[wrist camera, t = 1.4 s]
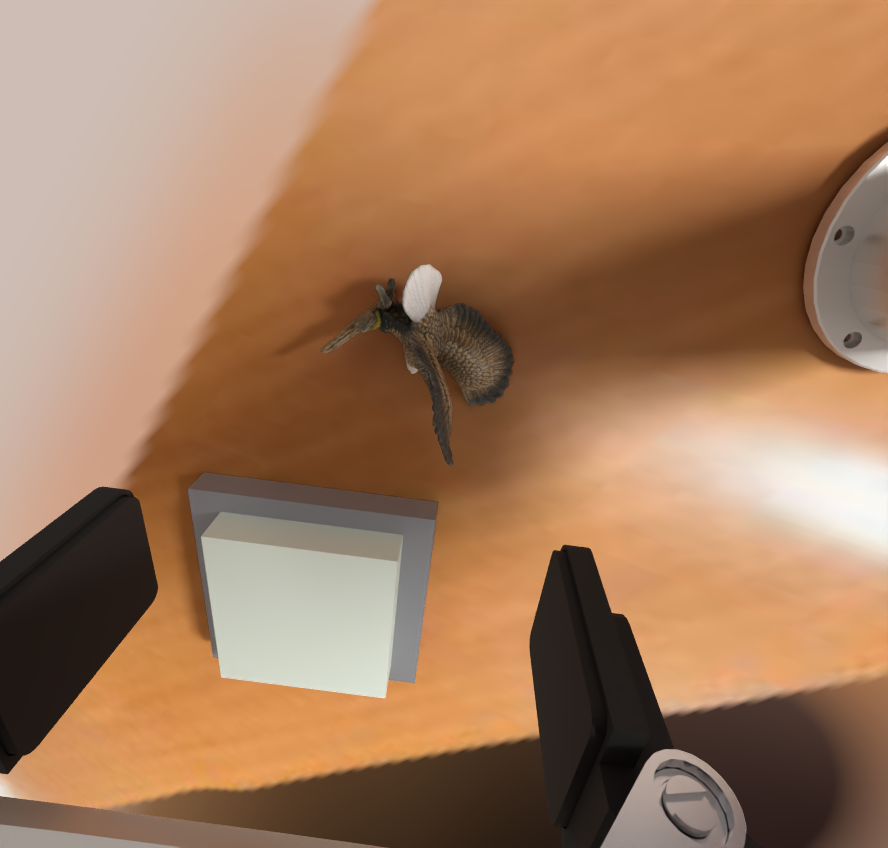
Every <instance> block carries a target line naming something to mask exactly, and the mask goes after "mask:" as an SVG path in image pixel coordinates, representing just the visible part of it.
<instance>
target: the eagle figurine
mask: <svg viewBox="0 0 888 848" xmlns="http://www.w3.org/2000/svg"><path fill="white" fill-rule="evenodd" d="M441 282H442V276H441V274H440V272H439V271H438V270H436V269H435V268H433V267H432V265H430V264H426V265H420V266H419V267H418V268H416V269H414V270H413V271H412V272H411V274H410V276H409V279H408V280H407V283H406V286H405V288H404V290H403V299H402V303H400V302H398V298H397V296H396V294H395V290H394V287H395V279H394V278H390V279H389V281H388V284H387V285H388V287H387V289H386V290H384V289H383V287H382V286H381V285H380V284H376V285H375V289H376V291H377V293H378V295H379V300H378V302H377V303H375V304H374V305H373V306H371V307H370V308H369V309H368V310H367V311H365V312H364V313H362V314H361V315H359V316H358V317H357V318H355V319H354V320H353V321H352V322H351V323H350V324H349V325H348V326H346V327H345V328H344V329H343V330H342V331H341V332H340V333H339V334H338V335H337V336H336V337H335V338H333V339H332V340H331V341H329V342H328V343H327V344H326V345H325V346H324V347H323V348H322V349H321V352H323V353H329V352H331V351H333V350H336V349H338V348H339V347H340V346H342V345H343V344H344V343H345V342H346V341H348V340H350V339H352V338H353V336H354V335H355V334H357V333H360V332H361V333H364V332H366V331H370V330H374V329H380V330H381V331H383V332H384V333H391V334H393V335H394V336H395V337H396V338H398V340H399V341H400V342H401V343H402V345H403V355H404V358H405V360H406V363H407V366H406V368H407V370H409V371H410V373H411V374H414V373H416V372H418V371H419V372H420V374H421V376H422V377H423V379H424V381H425V383H426V385H427V387H428V389H429V391H430V394H431V398H432V401H433V405H432V409H433V411H434V416H433V426H434V427H435V434H436V435H438V441H439V442H440V446H441V449H442V452H443V455H444V458H445V461H446V462H447V463H448V465H450V466H451V467H452V466H453V465H454V462H453V459H452V452H451V449H450V446H449V438H450V435H451V429H452V410H453V409H452V404H451V398H450V392H449V389H448V385H447V383H446V379H445V378H444V374H443V372H442V368H441V367H440V365H441V366H442V367H444V368H445V369H446V370H448V371H449V373H450V374H451V375H452V376H453V378H454V379H455V380H456V381H457V383H458V384H459V385H460V388H461V390H462V393H463V395H464V397H465V400H466V402H467V403H468V405H470V406H474V405H475V404H478V405H481V406H482V405H484V404H485V403H486V402H489V403H494V402H495V401H496V398H501V397H502V396H503V390H504V389H506V388H508V386H509V380H508V378H507V376H509V375H511V374H512V370H511V366H513V363H514V361H513V356H512V354H511V348H510V347H509V346H508V342H507V341H506V340H503V338H502V337H501V336H500V334H499V333H498V332H494V329H493V328H492V327H491V326H490V325H489V323H488V322H486V321H484V318H483V316H482V315H480V313H479V312H478V311H477V310H475V309H474V308H472V307H467V306H466V305H465V304H461V305H460V304H455V306H454V307H447V308H446V310H444V309H442V308H440V309H438V310H436V309H435V304H436V299H437V295H438V291H439V288H440V285H441ZM395 315H397V316H395ZM398 316H399V317H398ZM400 318H401V319H402V320H403V321H402V320H401V319H400ZM439 364H440V365H439Z"/></svg>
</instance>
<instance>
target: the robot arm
mask: <svg viewBox="0 0 888 848" xmlns="http://www.w3.org/2000/svg"><path fill="white" fill-rule="evenodd" d="M835 234H836V235H835ZM803 292H804V300H805V309H806V312H807V315H808V317H809V320H810V323H811V325H812V328H813V329H814V331H815V332H816V334H817V335H818V337H819V338H820V339H821V341H822V342H823V344H824V345H826V346H827V347H828V348H829V349H831V350H832V351H833V352H834V353H835V354H837V355H838V356H839V357H842V358H844V359H846V360H848V361H850V362H852V363H854V364H856V365H858V366H861V367H864V368H867V369H870V370H873V371H876V372H880V373H888V142H887V143H885V144H884V145H883V146H882V147H881V148H880V149H879V150H877V151H876V152H875V153H874V154H873V155H872V156H870V157H869V158H868V159H867V160H866V161H865V162H864V163H863V164H862V165H861V166H860V167H859V168H858V170H857V171H856V172H855V173H854V174H853V175H852V176H851V177H850V179H849V180H848V181H847V182H846V183H845V184H844V185H843V186H842V188H841V189H840V191H839V192H838V194H837V195H836V197H835V198H834V200H833V201H832V203H831V204H830V206H829V207H828V209H827V210H826V212H825V214H824V216H823V218H822V220H821V222H820V224H819V226H818V228H817V231H816V233H815V235H814V237H813V239H812V243H811V246H810V250H809V253H808V257H807V260H806V264H805V273H804V283H803ZM157 590H158V584H157V580H156V575H155V570H154V566H153V561H152V557H151V552H150V547H149V543H148V538H147V534H146V529H145V524H144V520H143V515H142V510H141V506H140V502H139V500H138V499H137V498H135V497H134V496H133V493H132V492H131V491H129V490H125V489H117V488H109V487H99V488H97V489H95V490H93V491H92V492H91V493H90V494H88V495H87V496H86V497H84V498H83V499H82V500H80V501H79V502H78V503H77V504H75V505H74V506H73V507H71V508H70V509H69V510H68V511H66V512H65V513H63V514H62V515H61V516H60V517H58V518H57V519H56V520H54V521H53V522H52V523H50V524H49V525H48V526H46V527H45V528H44V529H42V530H41V531H40V532H39V533H37V534H36V535H35V536H33V537H32V538H31V539H29V540H28V541H27V542H25V544H23V545H22V546H20V547H19V548H18V549H16V550H15V551H14V552H13V553H11V554H10V555H8V556H7V557H6V558H5V559H3V560H2V561H1V562H0V773H2V774H8V773H9V772H10V771H11V770H12V769H13V767H14V766H15V765H16V764H17V762H18V761H19V760H20V759H21V757H22V756H23V755H27V754H29V753H31V752H32V751H33V750H35V748H36V747H37V746H38V745H39V744H40V743H41V742H42V740H43V739H44V738H45V737H46V735H47V734H48V733H49V732H50V730H51V729H52V728H53V727H54V725H55V724H56V723H57V722H58V720H59V719H60V718H61V717H62V715H63V714H64V713H65V712H66V710H67V709H68V708H69V707H70V705H71V704H72V703H73V702H74V700H75V699H76V698H77V697H78V695H79V694H80V693H81V692H82V690H83V689H84V688H85V687H86V685H87V684H88V683H89V682H90V680H91V679H92V678H93V677H94V675H95V674H96V673H97V672H98V670H99V669H100V668H101V667H102V665H103V664H104V663H105V662H106V660H107V659H108V658H109V657H110V655H111V654H112V653H113V652H114V650H115V649H116V648H117V647H118V645H119V644H120V643H121V642H122V640H123V639H124V638H125V637H126V635H127V634H128V633H129V631H130V630H131V629H132V628H133V626H134V625H135V624H136V623H137V621H138V620H139V619H140V618H141V616H142V615H143V614H144V613H145V611H146V610H147V609H148V608H149V606H150V605H151V604H152V603H153V601H154V599H155V597H156V594H157ZM530 657H531V666H532V674H533V683H534V691H535V700H536V708H537V717H538V725H539V734H540V743H541V751H542V758H543V768H544V777H545V785H546V793H547V802H548V811H549V817H550V821H551V824H552V825H554V826H560V831H561V839H562V846H563V848H762V847H761V846H760V845H759V844H757V843H756V842H755V841H754V840H753V839H752V838H751V837H750V836H748V835H747V834H746V824H745V820H744V815H743V811H742V809H741V807H740V805H739V803H738V801H737V799H736V797H735V795H734V793H733V791H732V790H731V789H730V788H729V786H728V785H727V784H726V782H725V781H724V779H723V778H722V777H721V776H720V775H719V774H718V773H717V772H716V771H715V770H713V769H712V768H711V767H710V766H709V765H708V764H707V763H705V762H703V761H702V760H700V759H699V758H697V757H695V756H694V755H692V754H689V753H686V752H683V751H680V750H674V748H673V745H672V742H671V739H670V736H669V733H668V731H667V728H666V725H665V722H664V719H663V716H662V714H661V711H660V708H659V705H658V703H657V700H656V697H655V694H654V691H653V689H652V686H651V683H650V680H649V677H648V675H647V672H646V669H645V666H644V663H643V661H642V658H641V655H640V652H639V649H638V647H637V644H636V641H635V638H634V635H633V633H632V630H631V627H630V624H629V622H628V620H627V618H626V617H625V616H624V615H623V614H615V613H611V609H610V606H609V603H608V600H607V597H606V594H605V591H604V588H603V585H602V582H601V579H600V576H599V572H598V569H597V566H596V563H595V560H594V557H593V554H592V551H591V549H589V548H586V547H578V546H570V545H563V546H562V548H561V551H557V550H554V551H553V553H552V556H551V559H550V563H549V567H548V571H547V574H546V578H545V582H544V586H543V589H542V593H541V597H540V601H539V604H538V608H537V612H536V616H535V619H534V623H533V627H532V630H531V635H530ZM0 848H385V847H378V846H370V845H363V844H356V843H349V842H342V841H334V840H327V839H320V838H313V837H305V836H298V835H291V834H284V833H276V832H269V831H262V830H254V829H247V828H239V827H231V826H224V825H217V824H209V823H202V822H194V821H187V820H179V819H172V818H163V817H156V816H149V815H141V814H134V813H126V812H119V811H111V810H104V809H96V808H88V807H80V806H72V805H64V804H56V803H49V802H41V801H33V800H25V799H17V798H9V797H1V796H0Z"/></svg>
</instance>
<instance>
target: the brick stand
mask: <svg viewBox="0 0 888 848" xmlns="http://www.w3.org/2000/svg"><path fill="white" fill-rule="evenodd" d="M188 494H189V501H190V508H191V514H192V521H193V527H194V534H195V540H196V547H197V554H198V560H199V567H200V573H201V580H202V586H203V593H204V600H205V606H206V613H207V619H208V626H209V633H210V639H211V646H212V652H213V657H214V658H219V665H220V672H221V677H223V678H230V679H238V680H246V681H254V682H262V683H269V684H277V685H285V686H293V687H301V688H308V689H316V690H324V691H332V692H339V693H347V694H355V695H363V696H371V697H378V698H385V696H386V691H387V685H388V680H393V681H401V682H409V683H415V677H416V669H417V661H418V654H419V646H420V639H421V631H422V623H423V616H424V608H425V600H426V593H427V585H428V578H429V570H430V562H431V555H432V547H433V539H434V532H435V524H436V516H437V508H438V502H434V501H426V500H418V499H411V498H403V497H395V496H387V495H379V494H372V493H364V492H356V491H348V490H340V489H333V488H325V487H317V486H309V485H301V484H294V483H286V482H278V481H270V480H262V479H255V478H247V477H239V476H231V475H223V474H216V473H208V472H203V473H202V474H201V476H200V477H199V478H198V479H197V480H196V481H195V482H194V483H193V484H192V485H191V486H190V487H189V488H188Z"/></svg>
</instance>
